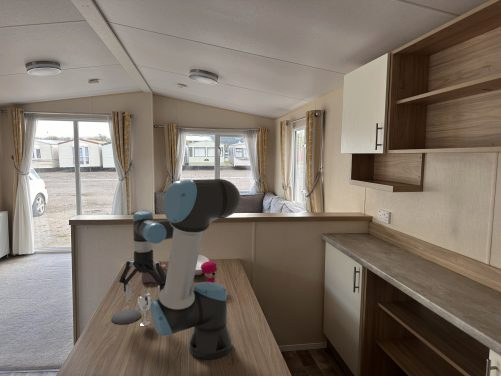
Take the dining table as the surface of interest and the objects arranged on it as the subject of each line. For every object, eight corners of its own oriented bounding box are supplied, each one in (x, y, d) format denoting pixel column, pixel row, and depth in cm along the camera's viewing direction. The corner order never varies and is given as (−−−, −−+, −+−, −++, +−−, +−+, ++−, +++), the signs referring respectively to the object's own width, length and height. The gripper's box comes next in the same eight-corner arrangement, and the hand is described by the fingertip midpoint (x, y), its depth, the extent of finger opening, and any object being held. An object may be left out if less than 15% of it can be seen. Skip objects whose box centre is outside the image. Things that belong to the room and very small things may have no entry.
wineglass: (147, 318, 142) (146, 291, 141) (155, 322, 139) (154, 294, 138) (134, 323, 138) (134, 295, 137) (142, 328, 134) (142, 299, 133)
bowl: (183, 264, 215) (183, 255, 215) (206, 263, 219) (206, 254, 218) (185, 281, 186) (185, 270, 186) (212, 279, 190) (212, 268, 189)
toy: (214, 293, 169) (214, 264, 168) (198, 292, 171) (198, 263, 169) (219, 287, 177) (219, 259, 176) (204, 286, 179) (204, 258, 178)
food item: (166, 276, 193) (166, 260, 192) (168, 281, 185) (167, 264, 184) (141, 279, 188) (141, 262, 187) (142, 284, 180) (141, 267, 180)
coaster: (133, 324, 137) (133, 323, 137) (105, 323, 138) (105, 321, 138) (145, 311, 149) (145, 310, 149) (120, 310, 150) (120, 308, 150)
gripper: (176, 248, 138) (176, 298, 140) (118, 245, 141) (120, 294, 143) (169, 254, 131) (170, 306, 133) (109, 250, 133) (110, 301, 136)
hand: (144, 300), depth 138 cm, fingers open, 13 cm apart
